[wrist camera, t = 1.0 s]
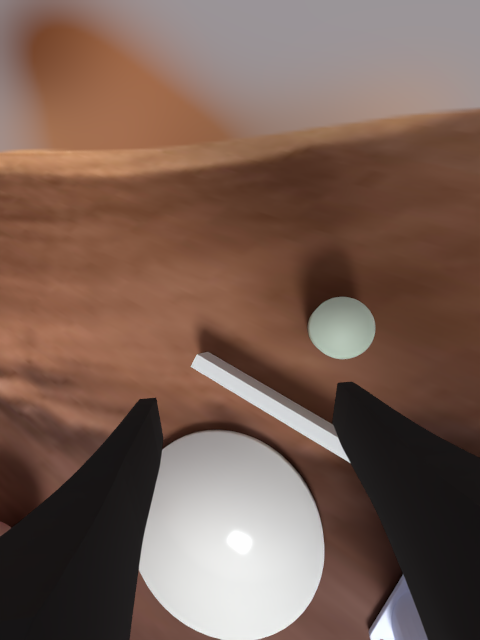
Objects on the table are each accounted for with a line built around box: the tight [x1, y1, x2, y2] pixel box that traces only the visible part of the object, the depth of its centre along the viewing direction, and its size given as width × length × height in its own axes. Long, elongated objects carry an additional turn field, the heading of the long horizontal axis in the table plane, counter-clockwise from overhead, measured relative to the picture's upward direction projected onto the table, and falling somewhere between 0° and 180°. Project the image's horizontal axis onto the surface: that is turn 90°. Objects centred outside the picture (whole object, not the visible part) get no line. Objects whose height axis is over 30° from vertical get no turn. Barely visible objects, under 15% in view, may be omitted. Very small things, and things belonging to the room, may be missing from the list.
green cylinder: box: [307, 297, 375, 359], centre depth 23 cm, size 4×4×5 cm
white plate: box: [139, 430, 324, 640], centre depth 26 cm, size 18×18×1 cm
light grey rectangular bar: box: [191, 352, 350, 463], centre depth 24 cm, size 18×1×3 cm, turn 61°
